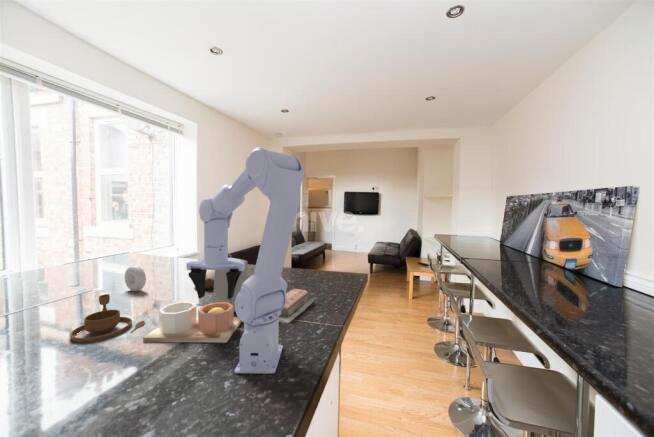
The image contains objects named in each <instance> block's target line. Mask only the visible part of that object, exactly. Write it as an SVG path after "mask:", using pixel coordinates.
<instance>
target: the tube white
mask: <svg viewBox="0 0 654 437" xmlns="http://www.w3.org/2000/svg"><path fill="white" fill-rule="evenodd" d="M158 314H159V322H158V323H159V326H158V327H159V329H160V330H161V332H162V333H164V334H176V333H180V332H183V331H186V330H189V329H191V328H192V327H193V326H194V325H195V324H196V323H197V318H196V316H197V304H196V303H194V302H192V301H178V302H174V303H169V304H166V305H165V306H163V307H162V308H160V309H159V310H158Z"/></svg>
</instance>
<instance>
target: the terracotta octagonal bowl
mask: <svg viewBox="0 0 654 437" xmlns="http://www.w3.org/2000/svg"><path fill="white" fill-rule="evenodd" d="M216 307H220V308H222V309H224V310H225V311H222V312H218V313H208V312H209V311H210V310H211V309H213V308H216ZM197 316H198V330H199V331H200V332H201V333H202V334H218V333H221V332H224V331H227V330H229V329H230V328H231V327H232V325H233V317H234V312H233V305H232V304H230V303H228V302H217V303H213V302H212V303H209V304H205V305H203V306H201V308H200V309H198V311H197Z"/></svg>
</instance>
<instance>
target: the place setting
mask: <svg viewBox="0 0 654 437" xmlns="http://www.w3.org/2000/svg"><path fill="white" fill-rule="evenodd" d="M110 300H111V297H110V293H109V294H101V295H99V296H98V302H99V305H101V306H102V309H101V311H96V312H94V313H91V314H88V315H87V316H85V317H84V319H83V322H84V323H83V324H81V325H80V326H78V327H77V328H75V329H73V330H72V331H71V332H70V334H69V337H70V339H71V341H73V342H75V343H93V342H97V341H99V342H100V341H103V340H107V339H110V338H112V337H116V336H118V335H120V334H122V333H125V332H126V331H127V330H129V328H130V327H131V326H132V324H133V320H132V319H131V318H130V317H127V316H121V312H120V310H118V309H108V308H107V305H108V304H109V303H110ZM119 323H123V324H126V325H125V326H124V327H121V328H120V329H118V330H115V331H112V330H113V329H115V328H116V327H117V326H118V325H119ZM144 325H145V320H141V321H139V322H138V323H136V324H135V326H134V329H132V330H131V332H130V333H129V334H133V333H134V332H135V331H136V330H137V329H138V328H141V327H142V326H144ZM84 329H85V330H84ZM82 330H84V331H86V332H87V333H90V334H92V335H94V336H91V337H77V335H78V334H77V333H79V332H80V331H82ZM111 331H112V332H111ZM82 332H83V331H82ZM80 333H81V332H80ZM80 333H79V334H80ZM95 335H97V336H95ZM75 336H76V337H75Z"/></svg>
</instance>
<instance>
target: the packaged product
mask: <svg viewBox="0 0 654 437" xmlns="http://www.w3.org/2000/svg"><path fill="white" fill-rule="evenodd" d="M286 296H287V301H286V305H285V307H284V308H283V309H281V315H279V323H282V324H290V323H291V322H292V321H294V319H295V318H296V317H298V316H299V315H300V314H302V312H304V311H306V309H307V308H308V307H309V306H310V305H312V304H313V303H314V302H315V300H314V299H309V291H307V290H306V289H300V288H293V289H291V290H288V291H286Z"/></svg>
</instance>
